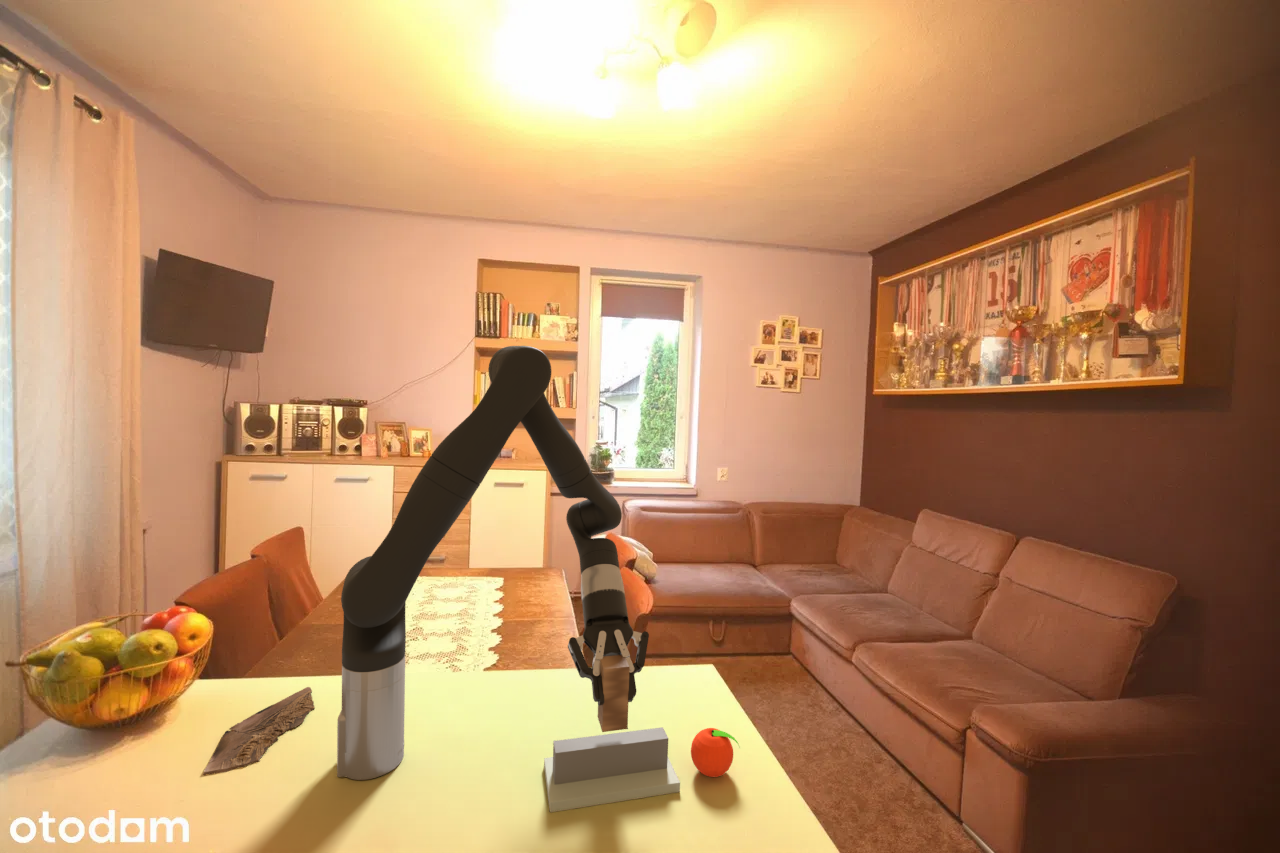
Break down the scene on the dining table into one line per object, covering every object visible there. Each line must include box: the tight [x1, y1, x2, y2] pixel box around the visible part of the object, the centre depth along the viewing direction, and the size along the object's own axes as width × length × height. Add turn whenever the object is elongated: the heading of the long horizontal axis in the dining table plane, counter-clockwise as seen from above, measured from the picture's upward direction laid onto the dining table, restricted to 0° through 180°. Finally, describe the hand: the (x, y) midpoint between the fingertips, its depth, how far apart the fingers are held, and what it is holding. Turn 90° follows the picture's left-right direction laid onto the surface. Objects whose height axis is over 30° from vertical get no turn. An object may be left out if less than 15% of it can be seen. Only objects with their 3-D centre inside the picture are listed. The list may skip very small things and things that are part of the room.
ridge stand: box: [543, 727, 681, 813], centre depth 87 cm, size 20×10×6 cm, turn 105°
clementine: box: [690, 727, 741, 778], centre depth 89 cm, size 8×7×7 cm
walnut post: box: [597, 655, 629, 733], centre depth 86 cm, size 4×4×10 cm
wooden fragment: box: [202, 686, 316, 776], centre depth 97 cm, size 26×11×1 cm, turn 176°
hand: (616, 701), depth 85 cm, fingers closed on walnut post, 4 cm apart
